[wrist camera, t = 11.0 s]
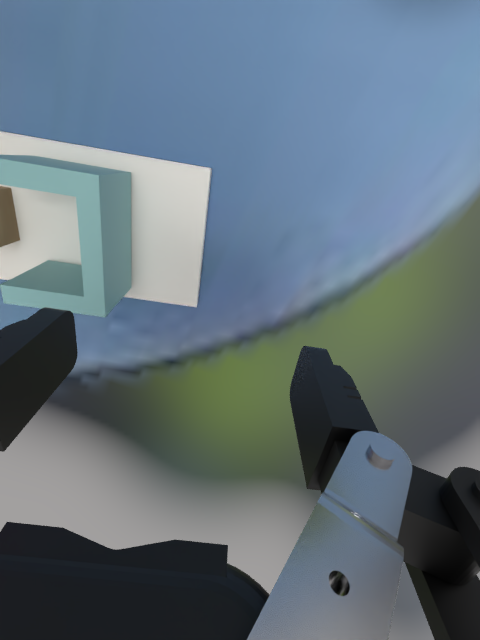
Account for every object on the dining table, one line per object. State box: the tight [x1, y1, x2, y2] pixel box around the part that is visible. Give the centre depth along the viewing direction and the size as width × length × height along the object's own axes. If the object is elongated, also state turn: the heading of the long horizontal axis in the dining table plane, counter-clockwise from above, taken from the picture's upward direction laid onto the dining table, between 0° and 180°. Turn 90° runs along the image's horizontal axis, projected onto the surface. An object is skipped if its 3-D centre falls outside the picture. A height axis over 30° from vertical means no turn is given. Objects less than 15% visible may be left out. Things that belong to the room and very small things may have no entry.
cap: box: [0, 155, 131, 317], centre depth 19 cm, size 6×8×5 cm
